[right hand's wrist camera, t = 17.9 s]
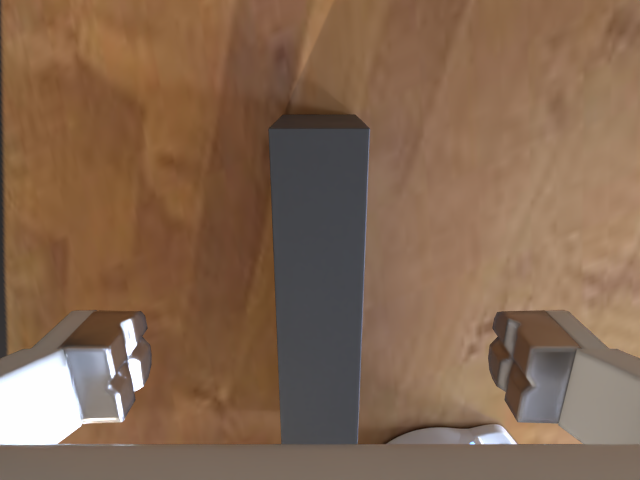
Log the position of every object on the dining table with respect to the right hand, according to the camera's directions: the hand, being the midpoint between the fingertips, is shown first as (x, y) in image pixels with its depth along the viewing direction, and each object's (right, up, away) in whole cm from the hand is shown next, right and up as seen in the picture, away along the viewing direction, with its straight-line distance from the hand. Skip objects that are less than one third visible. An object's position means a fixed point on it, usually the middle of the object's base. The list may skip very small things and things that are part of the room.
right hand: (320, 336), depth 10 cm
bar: (0, -1, +26) cm, 26 cm away
